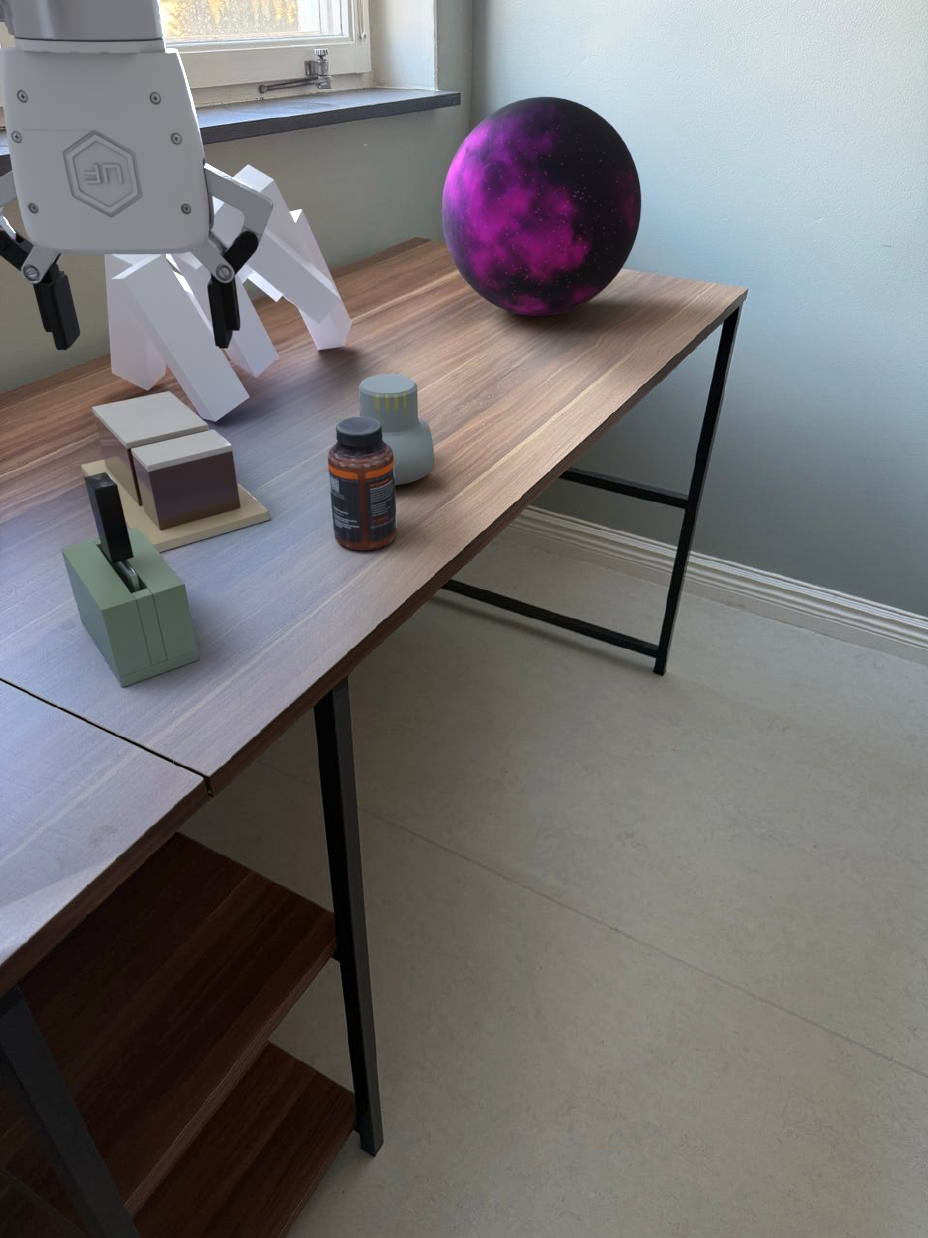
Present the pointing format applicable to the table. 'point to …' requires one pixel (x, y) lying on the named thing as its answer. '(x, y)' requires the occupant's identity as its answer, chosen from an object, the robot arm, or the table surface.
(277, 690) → the table surface
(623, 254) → the purple galaxy ball
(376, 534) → the supplement bottle
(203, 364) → the pile of blocks
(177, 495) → the cake
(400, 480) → the air freshener
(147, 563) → the knife block
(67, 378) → the table surface
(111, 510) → the knife
